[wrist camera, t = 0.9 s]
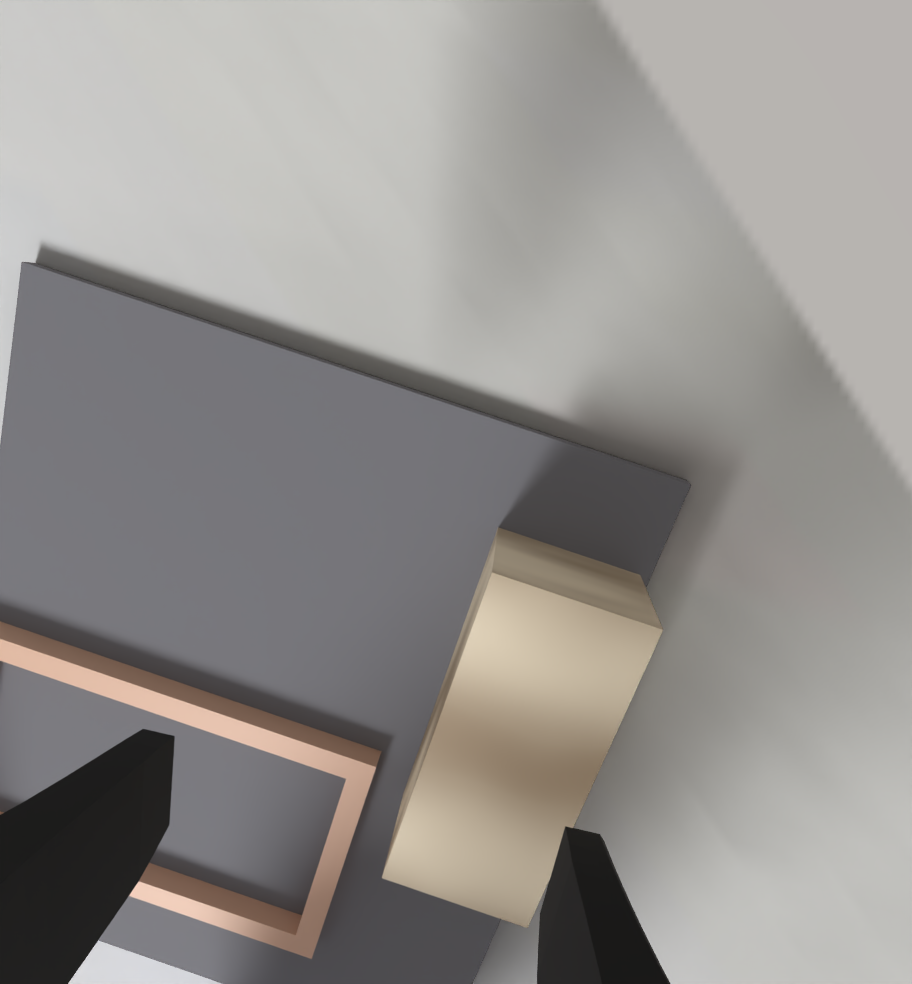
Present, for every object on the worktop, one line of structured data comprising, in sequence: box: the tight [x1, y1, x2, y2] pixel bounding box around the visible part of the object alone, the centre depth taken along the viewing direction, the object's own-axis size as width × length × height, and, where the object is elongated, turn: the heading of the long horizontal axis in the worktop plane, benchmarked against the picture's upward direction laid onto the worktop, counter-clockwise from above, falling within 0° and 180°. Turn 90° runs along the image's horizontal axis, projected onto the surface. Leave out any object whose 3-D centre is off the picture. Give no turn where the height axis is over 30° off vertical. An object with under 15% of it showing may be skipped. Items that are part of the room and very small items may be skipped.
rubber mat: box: [0, 262, 691, 984], centre depth 23 cm, size 24×20×1 cm
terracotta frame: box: [0, 621, 381, 959], centre depth 23 cm, size 9×14×1 cm, turn 73°
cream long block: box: [382, 527, 663, 928], centre depth 20 cm, size 10×4×4 cm, turn 163°
